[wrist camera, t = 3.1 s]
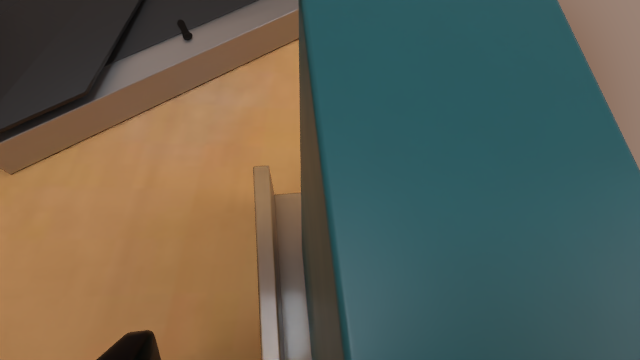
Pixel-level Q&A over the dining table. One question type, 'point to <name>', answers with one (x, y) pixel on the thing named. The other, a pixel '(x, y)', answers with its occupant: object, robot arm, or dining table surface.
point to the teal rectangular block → (462, 186)
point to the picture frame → (117, 61)
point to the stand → (280, 272)
